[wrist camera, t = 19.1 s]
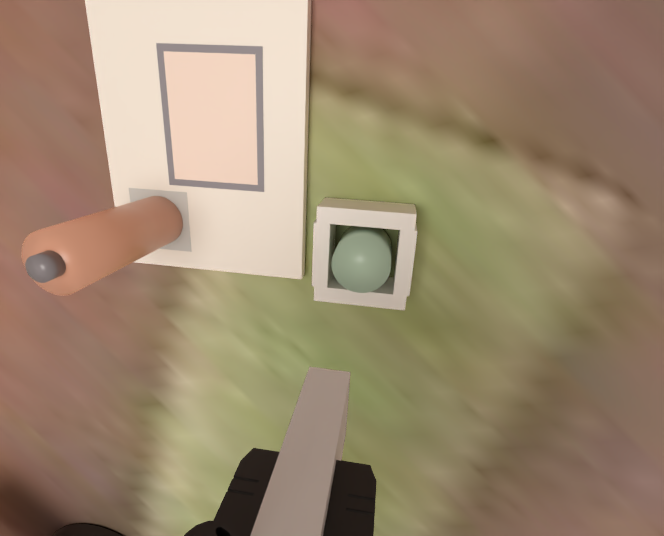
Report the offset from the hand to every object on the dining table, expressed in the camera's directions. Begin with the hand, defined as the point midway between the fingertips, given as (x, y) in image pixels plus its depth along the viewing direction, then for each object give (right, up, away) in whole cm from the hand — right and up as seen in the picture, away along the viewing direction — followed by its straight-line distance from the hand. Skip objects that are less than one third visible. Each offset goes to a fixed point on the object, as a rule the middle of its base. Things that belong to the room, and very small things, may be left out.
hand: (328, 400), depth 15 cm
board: (-10, +14, +17) cm, 24 cm away
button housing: (+3, +7, +18) cm, 19 cm away
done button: (+3, +6, +17) cm, 19 cm away
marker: (-14, +9, +19) cm, 25 cm away
